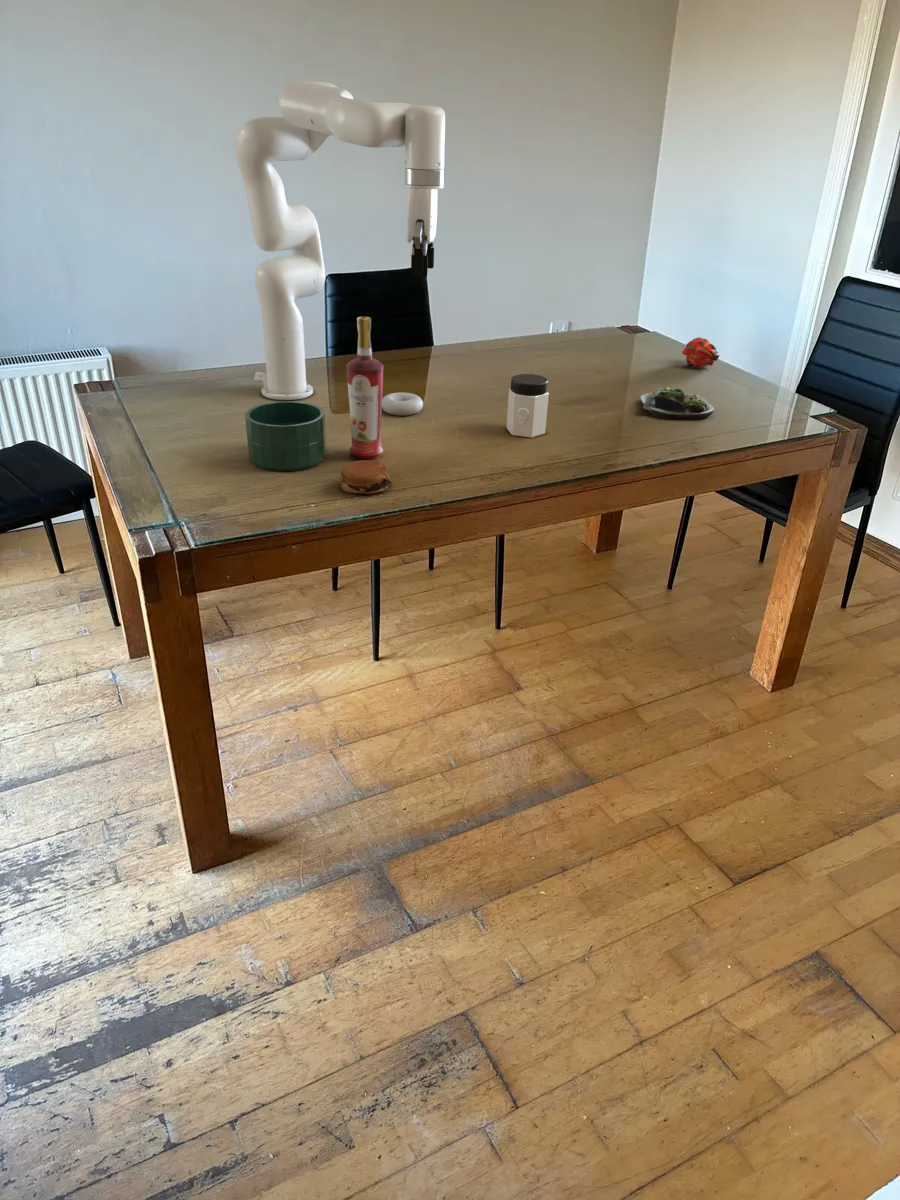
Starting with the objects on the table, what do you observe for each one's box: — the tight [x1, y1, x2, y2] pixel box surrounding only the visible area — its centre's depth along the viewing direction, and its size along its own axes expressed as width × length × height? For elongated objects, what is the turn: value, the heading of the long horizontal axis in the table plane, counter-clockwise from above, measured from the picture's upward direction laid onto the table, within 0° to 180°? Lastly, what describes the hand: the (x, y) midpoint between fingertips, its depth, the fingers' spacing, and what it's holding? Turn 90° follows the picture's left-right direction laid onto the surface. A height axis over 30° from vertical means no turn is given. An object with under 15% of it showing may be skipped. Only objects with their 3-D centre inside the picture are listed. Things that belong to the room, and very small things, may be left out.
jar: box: [506, 373, 549, 439], centre depth 194 cm, size 9×8×12 cm
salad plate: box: [640, 386, 715, 421], centre depth 215 cm, size 19×18×5 cm
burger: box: [339, 459, 392, 495], centre depth 166 cm, size 10×9×5 cm
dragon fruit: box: [681, 336, 720, 370], centre depth 248 cm, size 8×8×12 cm
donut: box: [382, 391, 424, 417], centre depth 207 cm, size 10×4×10 cm
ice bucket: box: [244, 400, 327, 472], centre depth 177 cm, size 16×16×10 cm
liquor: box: [345, 316, 384, 461], centre depth 175 cm, size 7×7×28 cm
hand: (422, 272), depth 177 cm, fingers open, 9 cm apart
